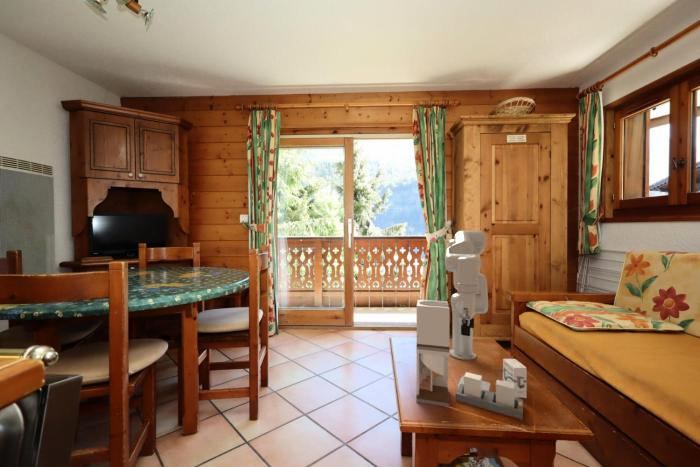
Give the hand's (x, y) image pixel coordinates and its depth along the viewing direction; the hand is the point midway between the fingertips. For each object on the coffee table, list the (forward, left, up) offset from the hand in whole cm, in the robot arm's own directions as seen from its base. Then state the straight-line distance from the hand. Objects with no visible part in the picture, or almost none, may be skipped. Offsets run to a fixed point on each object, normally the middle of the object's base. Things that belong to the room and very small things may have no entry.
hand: (467, 331), depth 113 cm
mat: (-5, +2, -23) cm, 24 cm away
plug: (+6, +3, -23) cm, 24 cm away
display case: (+11, -11, -23) cm, 28 cm away
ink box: (-8, +16, -24) cm, 29 cm away
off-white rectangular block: (+6, +13, -23) cm, 28 cm away
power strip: (+6, +8, -23) cm, 25 cm away
